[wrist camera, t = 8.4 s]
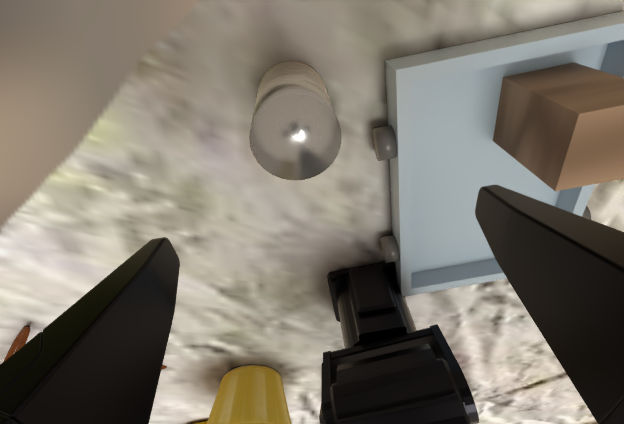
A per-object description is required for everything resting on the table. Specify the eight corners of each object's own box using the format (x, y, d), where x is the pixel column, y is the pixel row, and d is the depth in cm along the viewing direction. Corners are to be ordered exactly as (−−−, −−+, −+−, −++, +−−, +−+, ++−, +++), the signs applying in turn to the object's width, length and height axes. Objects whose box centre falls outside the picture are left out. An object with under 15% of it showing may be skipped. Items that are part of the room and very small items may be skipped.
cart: (555, 248, 28) (573, 266, 27) (382, 279, 29) (389, 299, 27) (642, 6, 18) (682, 11, 16) (367, 64, 18) (376, 74, 17)
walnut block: (556, 128, 21) (637, 175, 16) (492, 141, 21) (555, 191, 16) (574, 62, 19) (676, 94, 14) (502, 77, 19) (579, 113, 14)
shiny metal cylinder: (330, 123, 20) (346, 171, 16) (267, 136, 21) (263, 187, 16) (320, 54, 18) (335, 85, 13) (249, 69, 18) (237, 105, 13)
